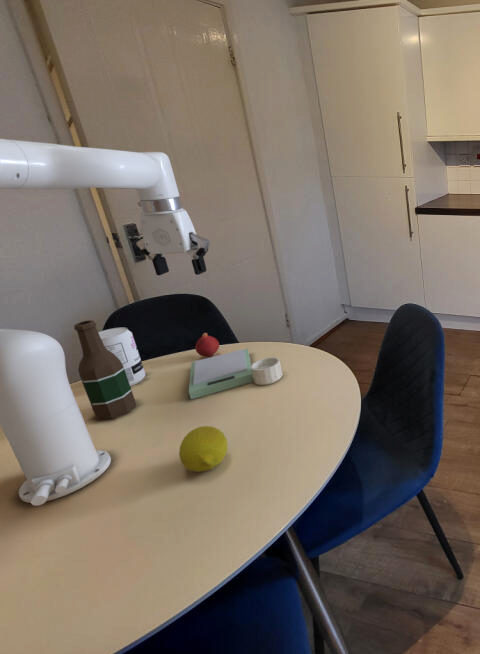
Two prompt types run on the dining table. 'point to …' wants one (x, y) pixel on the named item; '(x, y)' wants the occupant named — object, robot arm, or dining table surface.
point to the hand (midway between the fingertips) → (182, 273)
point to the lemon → (203, 449)
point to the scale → (220, 373)
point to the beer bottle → (103, 375)
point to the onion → (207, 345)
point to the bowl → (266, 371)
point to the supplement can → (124, 352)
